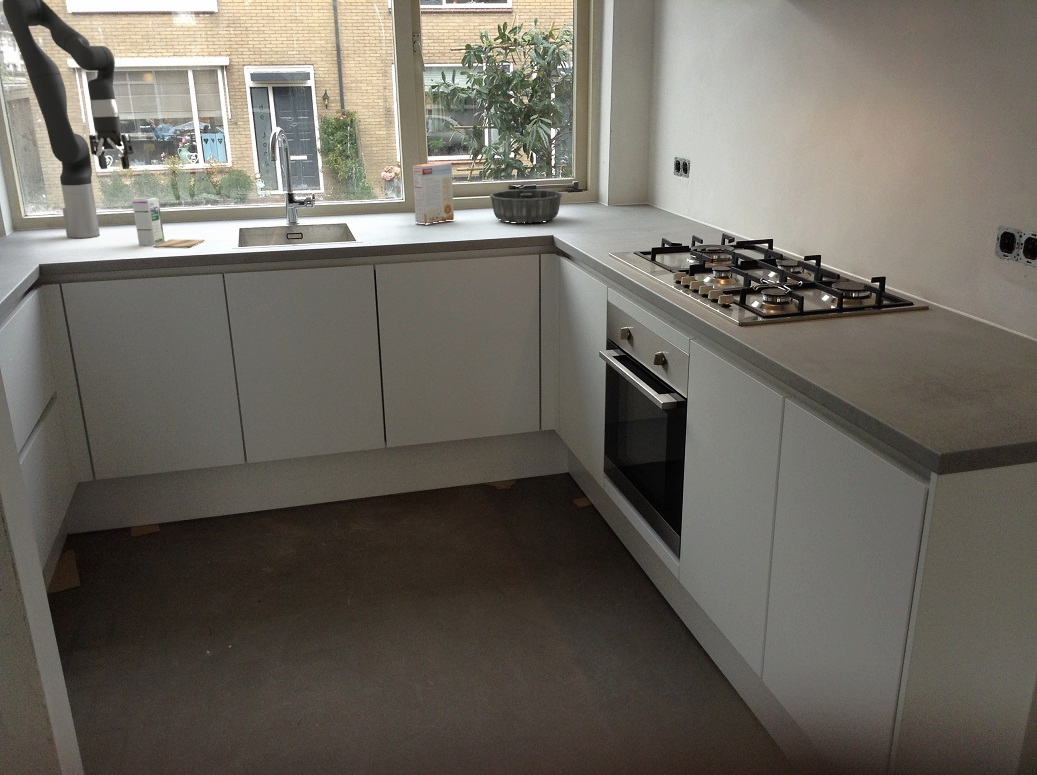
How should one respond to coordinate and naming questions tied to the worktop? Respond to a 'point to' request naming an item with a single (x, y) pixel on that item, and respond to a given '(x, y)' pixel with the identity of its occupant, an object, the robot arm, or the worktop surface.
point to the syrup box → (148, 221)
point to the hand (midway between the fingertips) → (115, 168)
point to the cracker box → (433, 192)
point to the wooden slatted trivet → (179, 243)
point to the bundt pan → (526, 205)
